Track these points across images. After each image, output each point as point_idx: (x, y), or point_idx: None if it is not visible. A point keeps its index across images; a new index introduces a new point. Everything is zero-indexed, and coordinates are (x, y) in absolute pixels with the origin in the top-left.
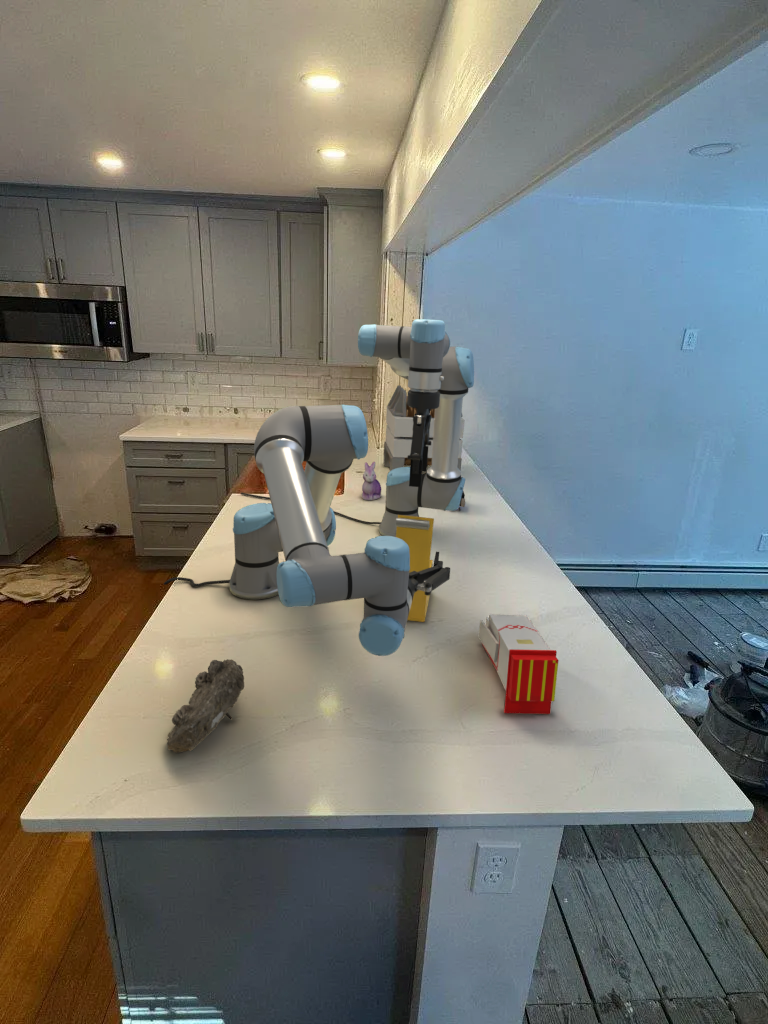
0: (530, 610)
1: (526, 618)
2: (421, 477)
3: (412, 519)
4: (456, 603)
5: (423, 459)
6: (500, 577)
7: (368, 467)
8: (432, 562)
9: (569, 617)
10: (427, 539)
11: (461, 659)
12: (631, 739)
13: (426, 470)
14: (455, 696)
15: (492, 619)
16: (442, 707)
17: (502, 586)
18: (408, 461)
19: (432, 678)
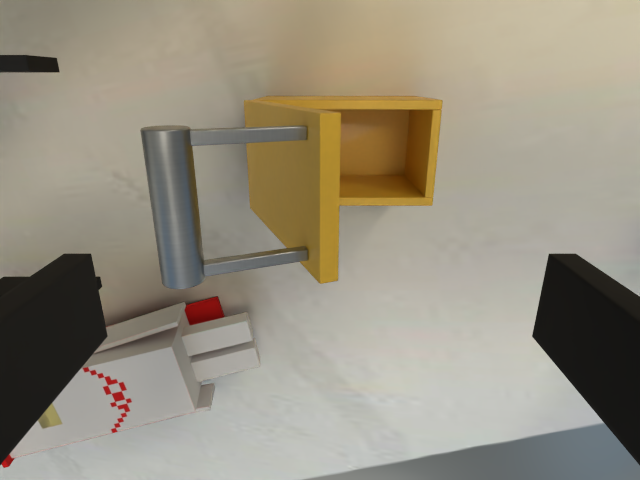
0: (374, 380)
1: (175, 413)
2: (58, 385)
3: (167, 214)
4: (373, 242)
5: (606, 378)
6: (520, 331)
7: None
8: (422, 204)
9: (362, 437)
10: (288, 235)
11: (155, 261)
12: (58, 466)
13: (538, 343)
14: (42, 256)
15: (142, 354)
16: (3, 237)
17: (474, 334)
18: None
19: (74, 215)
